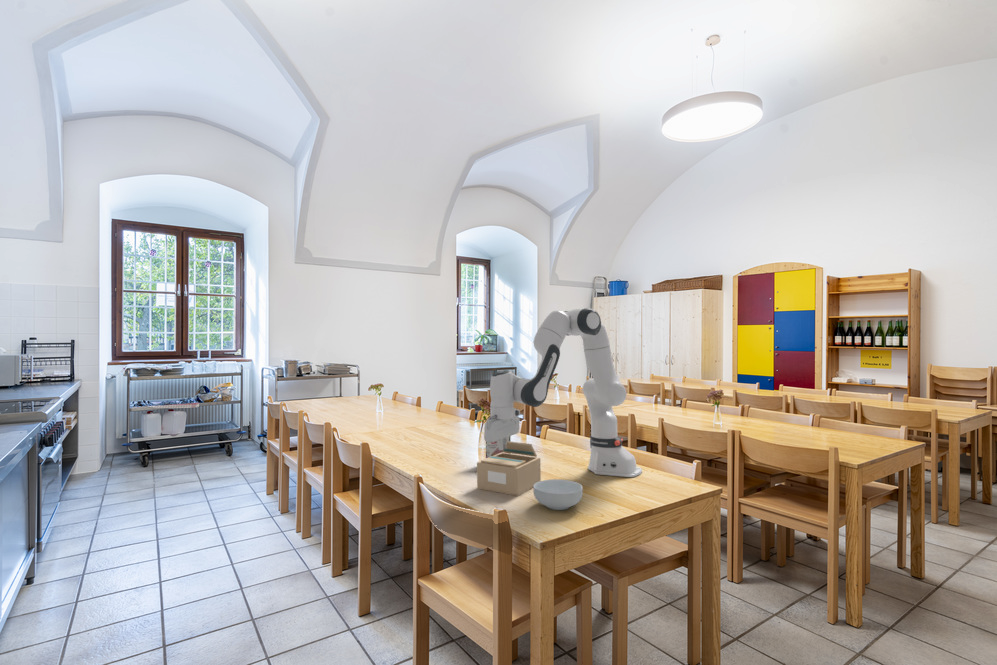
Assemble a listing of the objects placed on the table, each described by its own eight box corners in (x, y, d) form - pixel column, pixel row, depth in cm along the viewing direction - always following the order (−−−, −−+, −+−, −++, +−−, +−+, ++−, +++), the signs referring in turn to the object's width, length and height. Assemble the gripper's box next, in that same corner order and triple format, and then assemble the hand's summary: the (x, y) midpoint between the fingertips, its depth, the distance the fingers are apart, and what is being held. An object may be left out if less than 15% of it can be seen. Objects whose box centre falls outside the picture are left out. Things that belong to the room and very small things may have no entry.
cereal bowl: (592, 505, 173) (592, 484, 173) (564, 519, 160) (564, 497, 160) (552, 494, 184) (551, 475, 184) (523, 507, 172) (523, 486, 171)
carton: (540, 483, 198) (540, 457, 198) (517, 496, 183) (517, 468, 183) (501, 476, 208) (501, 452, 208) (477, 488, 192) (476, 462, 192)
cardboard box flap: (536, 457, 198) (537, 455, 199) (530, 445, 194) (531, 444, 195) (503, 452, 206) (504, 451, 207) (497, 441, 202) (498, 440, 203)
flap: (481, 461, 192) (481, 460, 192) (492, 457, 199) (492, 455, 199) (515, 467, 184) (515, 465, 184) (525, 462, 191) (525, 460, 191)
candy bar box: (485, 465, 224) (485, 429, 224) (486, 462, 229) (486, 427, 229) (510, 466, 223) (510, 429, 223) (511, 463, 228) (510, 427, 228)
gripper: (494, 418, 180) (494, 456, 180) (522, 410, 198) (522, 445, 198) (479, 416, 184) (480, 454, 184) (508, 408, 201) (508, 443, 201)
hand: (502, 449), depth 191 cm, fingers closed
